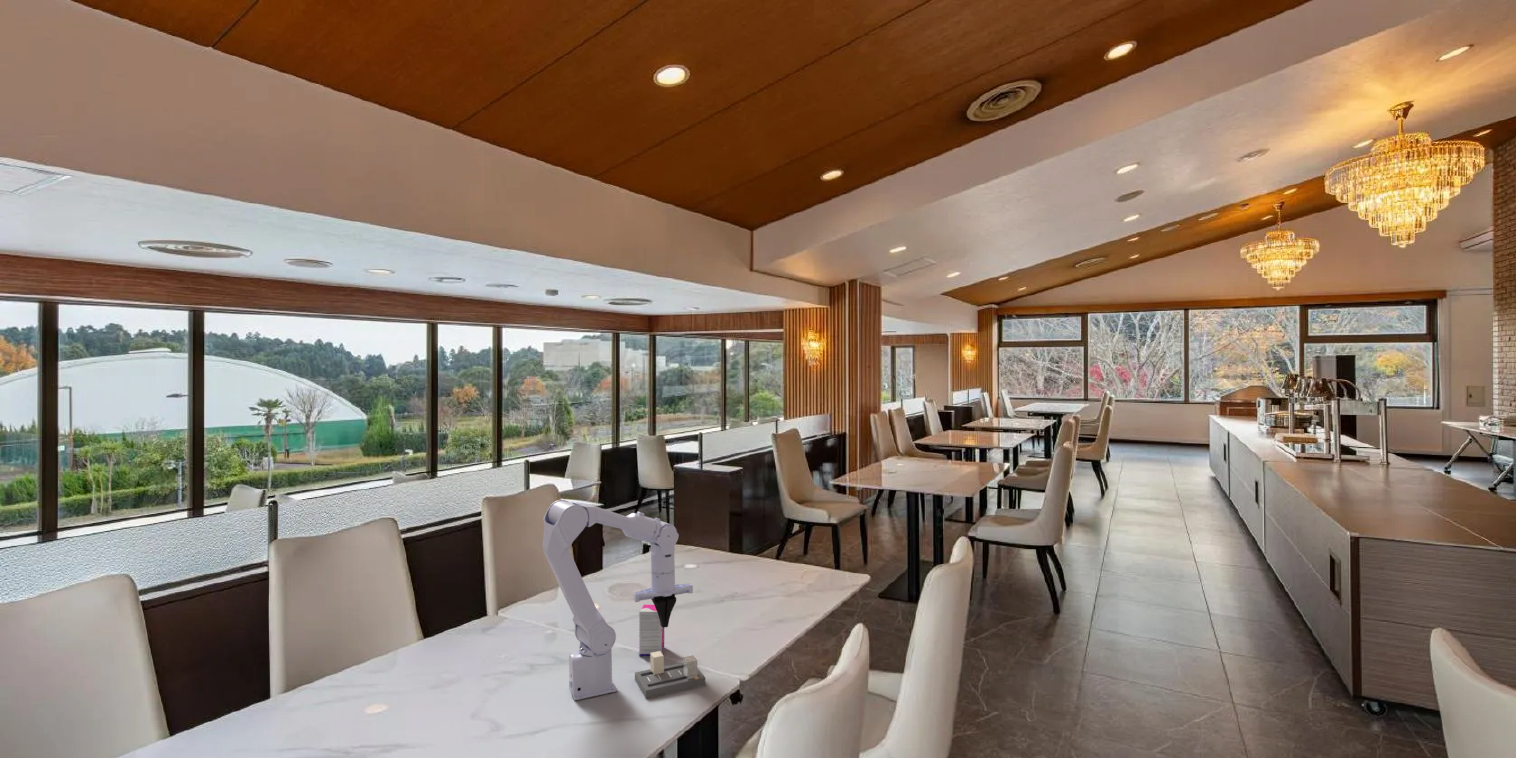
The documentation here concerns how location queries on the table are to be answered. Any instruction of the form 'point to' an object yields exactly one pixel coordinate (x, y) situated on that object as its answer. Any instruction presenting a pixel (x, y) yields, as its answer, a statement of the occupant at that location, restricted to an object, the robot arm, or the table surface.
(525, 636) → the table surface
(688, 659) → the fader near
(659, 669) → the fader far
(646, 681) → the console
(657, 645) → the supplement box
